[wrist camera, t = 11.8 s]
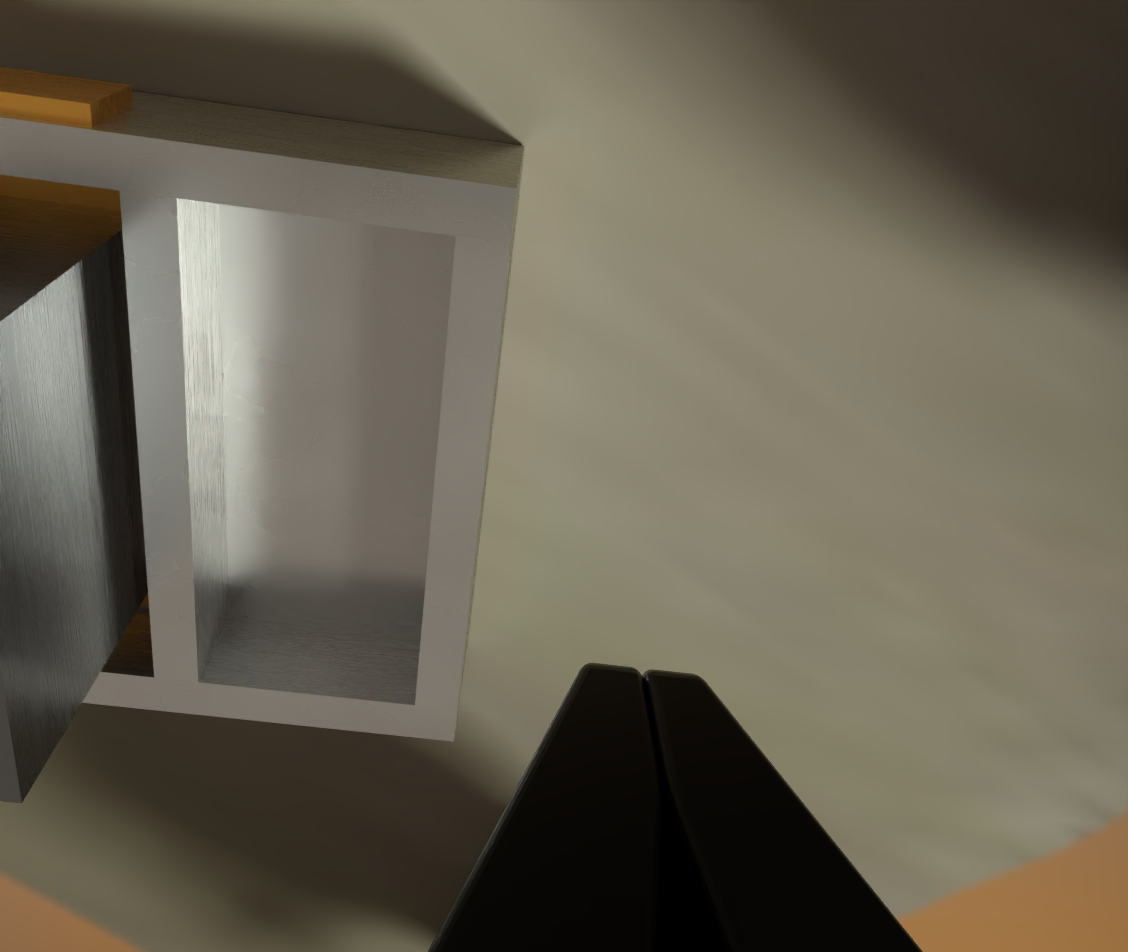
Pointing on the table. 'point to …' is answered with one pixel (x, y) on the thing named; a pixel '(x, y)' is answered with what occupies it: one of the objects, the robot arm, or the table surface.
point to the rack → (292, 393)
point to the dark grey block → (62, 472)
